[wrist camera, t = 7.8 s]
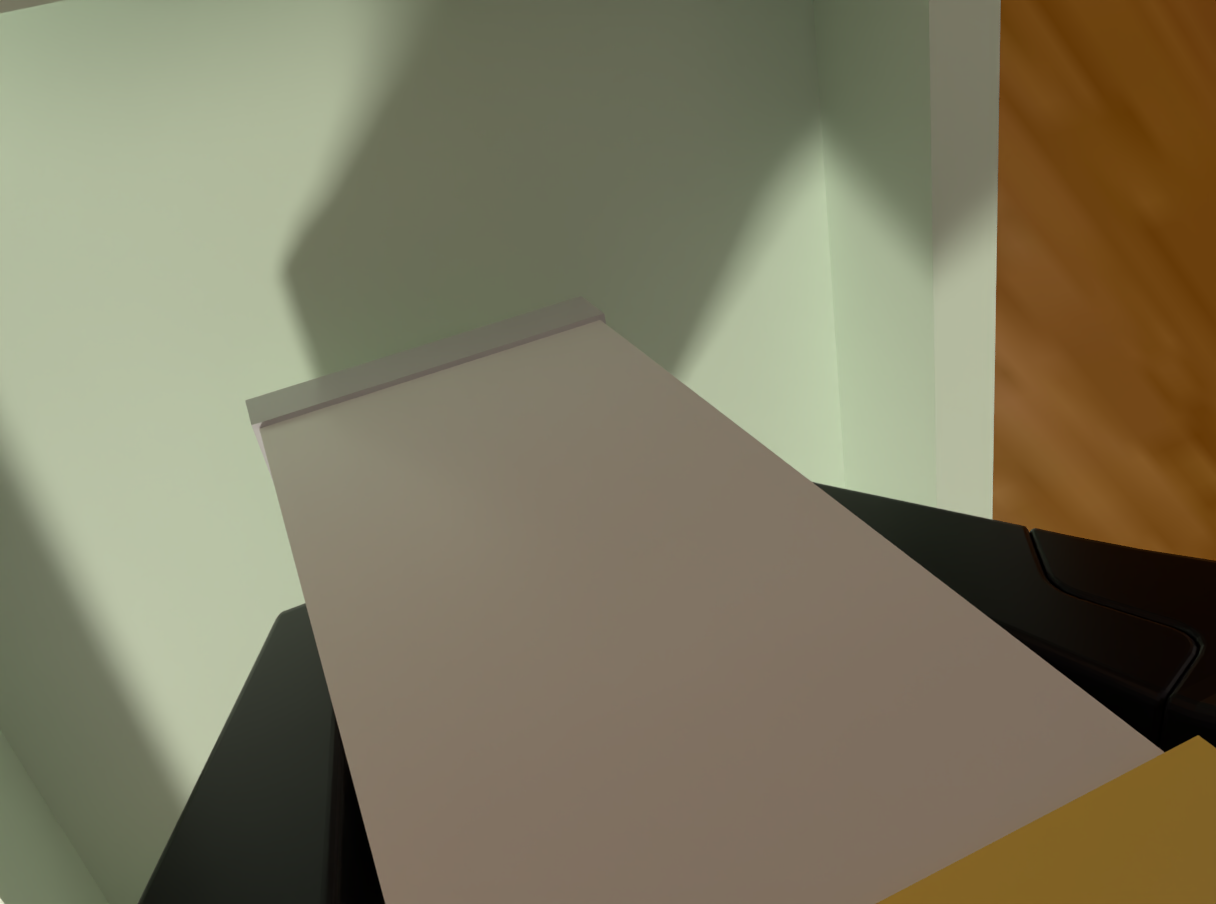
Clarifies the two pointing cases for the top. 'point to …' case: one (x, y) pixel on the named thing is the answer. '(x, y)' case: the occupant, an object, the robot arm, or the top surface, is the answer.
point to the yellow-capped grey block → (677, 659)
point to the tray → (428, 301)
